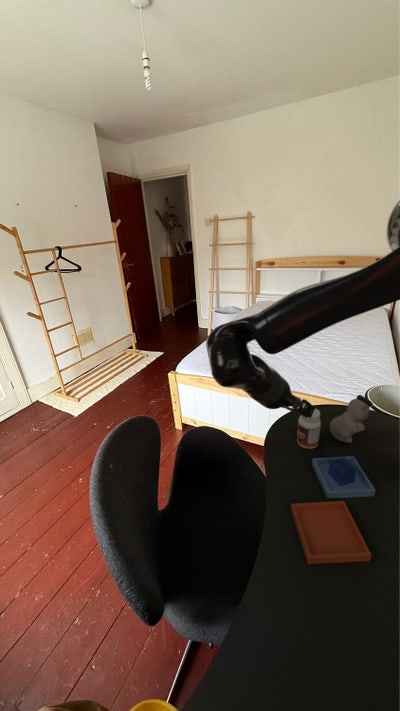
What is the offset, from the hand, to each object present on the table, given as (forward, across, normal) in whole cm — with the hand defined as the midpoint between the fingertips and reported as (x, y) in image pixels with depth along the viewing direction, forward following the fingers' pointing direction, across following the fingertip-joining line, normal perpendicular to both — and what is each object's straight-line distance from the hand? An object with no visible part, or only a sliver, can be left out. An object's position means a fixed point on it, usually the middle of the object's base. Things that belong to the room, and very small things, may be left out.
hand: (291, 406), depth 74 cm
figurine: (+29, -8, -1) cm, 30 cm away
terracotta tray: (+6, -16, +22) cm, 28 cm away
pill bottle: (+22, 0, +6) cm, 23 cm away
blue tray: (+17, -13, +10) cm, 24 cm away
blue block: (+17, -13, +10) cm, 23 cm away
